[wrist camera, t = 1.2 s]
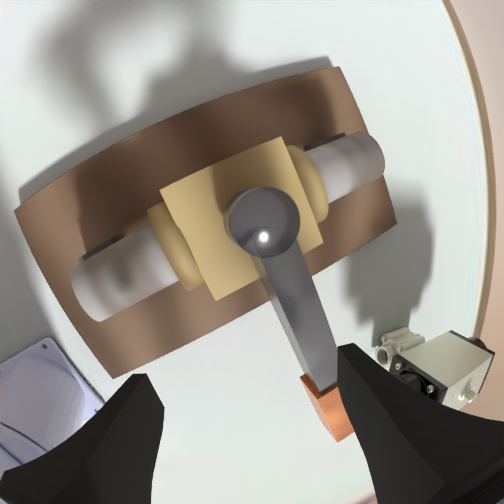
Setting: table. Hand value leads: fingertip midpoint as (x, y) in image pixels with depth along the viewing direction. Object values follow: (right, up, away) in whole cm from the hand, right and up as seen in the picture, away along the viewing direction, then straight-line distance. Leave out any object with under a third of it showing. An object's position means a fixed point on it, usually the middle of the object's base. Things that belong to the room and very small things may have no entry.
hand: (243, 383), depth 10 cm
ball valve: (-2, +8, +9) cm, 12 cm away
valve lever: (+3, +1, +4) cm, 5 cm away
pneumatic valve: (+15, -5, +17) cm, 23 cm away
